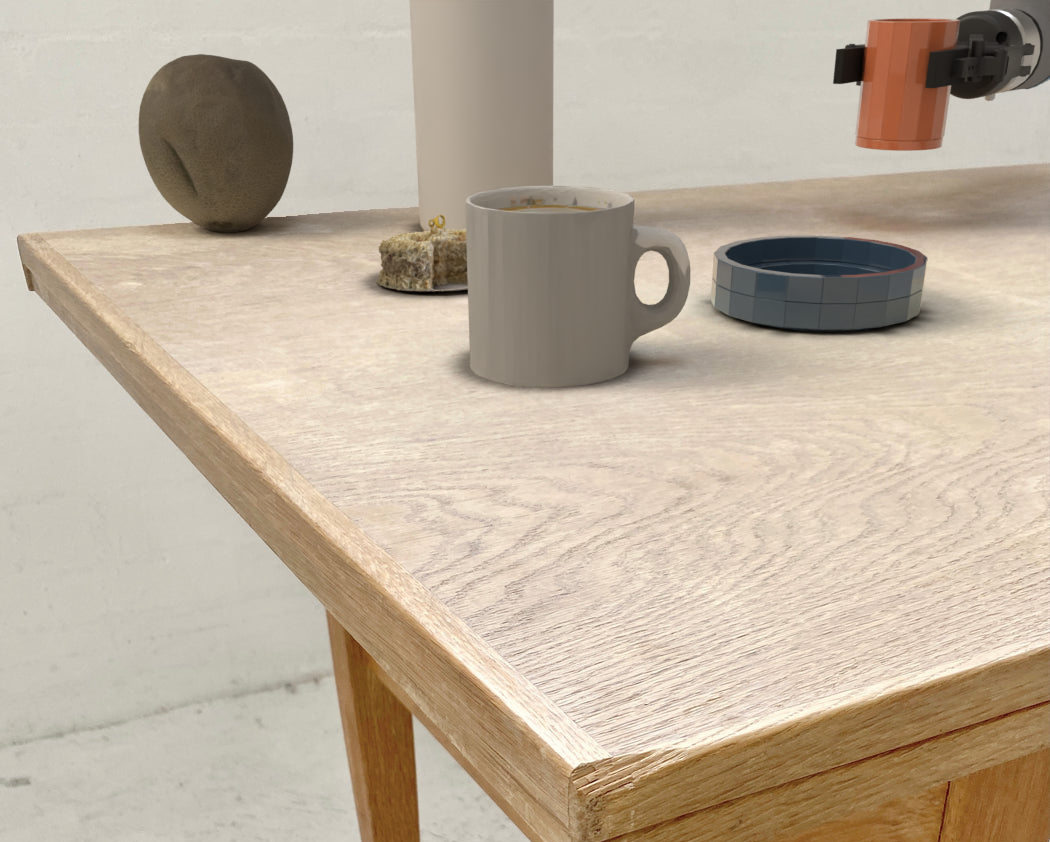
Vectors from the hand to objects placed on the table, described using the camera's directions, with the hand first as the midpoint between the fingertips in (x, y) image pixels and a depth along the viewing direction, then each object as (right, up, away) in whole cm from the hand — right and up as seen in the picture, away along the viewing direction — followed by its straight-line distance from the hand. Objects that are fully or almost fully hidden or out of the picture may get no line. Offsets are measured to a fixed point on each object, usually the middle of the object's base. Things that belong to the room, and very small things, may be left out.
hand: (884, 68), depth 110 cm
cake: (-37, -21, -8) cm, 44 cm away
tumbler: (+3, -4, +6) cm, 8 cm away
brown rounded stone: (-59, -9, +13) cm, 61 cm away
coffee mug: (-27, -33, -29) cm, 52 cm away
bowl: (-10, -26, -17) cm, 32 cm away
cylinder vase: (-34, -10, +12) cm, 37 cm away
